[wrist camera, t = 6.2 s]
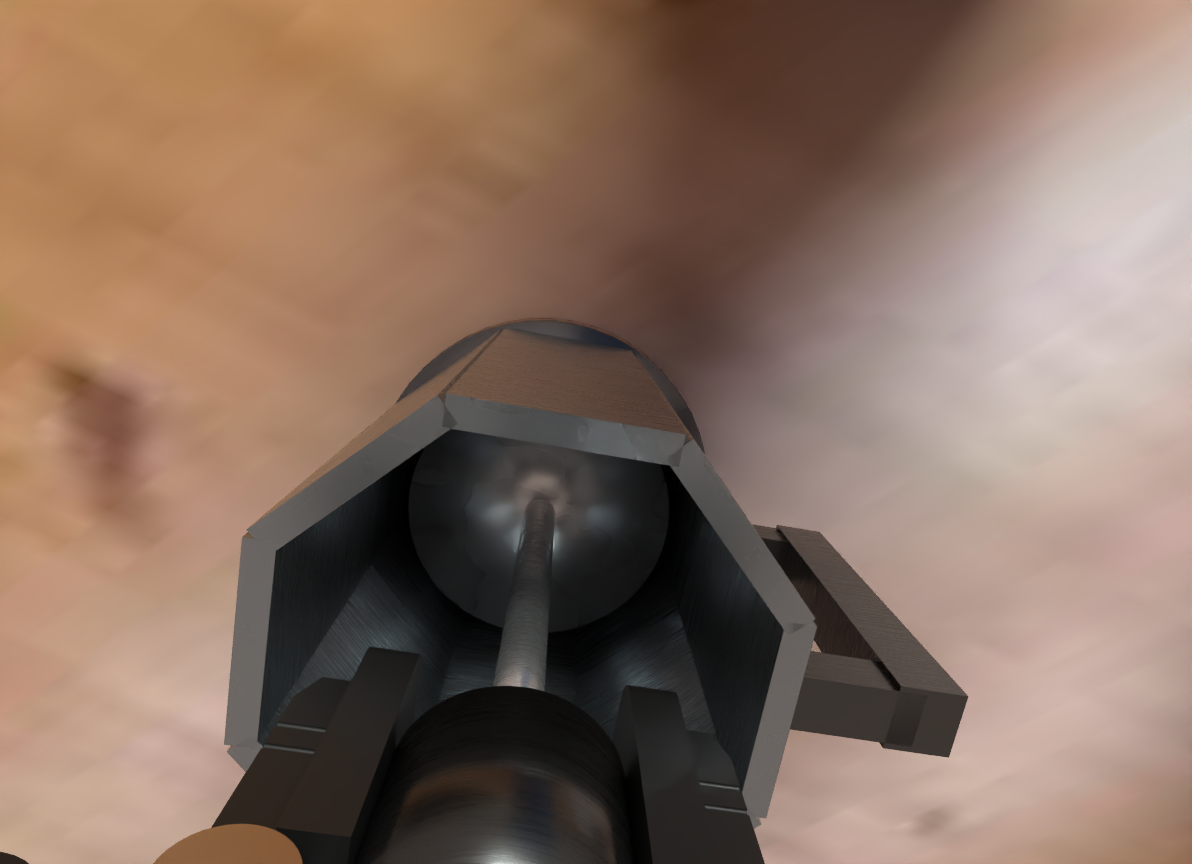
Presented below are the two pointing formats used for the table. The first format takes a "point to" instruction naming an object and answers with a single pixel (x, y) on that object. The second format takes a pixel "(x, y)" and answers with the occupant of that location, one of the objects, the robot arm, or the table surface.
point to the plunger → (519, 654)
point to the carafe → (614, 642)
